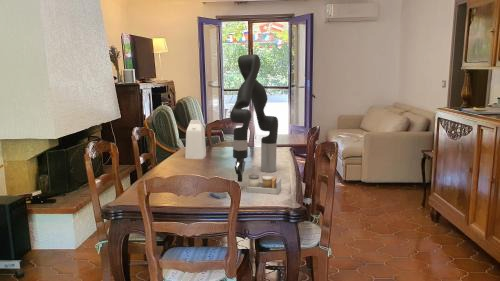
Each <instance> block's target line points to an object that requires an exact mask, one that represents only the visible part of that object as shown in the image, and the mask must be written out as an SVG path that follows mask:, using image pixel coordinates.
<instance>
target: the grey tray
mask: <svg viewBox="0 0 500 281" xmlns="http://www.w3.org/2000/svg"><path fill="white" fill-rule="evenodd" d="M281 189H282V176H279V177H278V179H277V180H276V189H273V188H262V181H259V187H249V186H246V193H255V194H266V193H270V195H279V193H280V191H281Z"/></svg>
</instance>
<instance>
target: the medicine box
mask: <svg viewBox="0 0 500 281" xmlns="http://www.w3.org/2000/svg"><path fill="white" fill-rule="evenodd" d="M209 196H211V197H214V198H216V199H219V200H221V199H225V198H226V197H227V193H210V192H209Z"/></svg>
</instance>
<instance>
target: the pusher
mask: <svg viewBox="0 0 500 281" xmlns="http://www.w3.org/2000/svg"><path fill="white" fill-rule="evenodd" d="M277 178H278V177H277V176H274V177H273V179H272V188H273V189H276V183H277V181H278V179H277Z"/></svg>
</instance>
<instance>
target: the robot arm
mask: <svg viewBox="0 0 500 281" xmlns="http://www.w3.org/2000/svg"><path fill="white" fill-rule="evenodd" d="M237 65H238V69H239V71H240V74H241V75H242V79H243V80H244V82H243V83H242V84H241V85H240V87H239V88H238V90H237V91H238V92H237V96H236V101H235V103H234V105H233V107H232V109H231V111H230V113H229V114H230V115H229V119H230V121H231V122H232V123H235V124H242V126H240V127H235V128H234V129H233V140H232V141H233V142H232V158H234V159H236V161H235V165H234V170H235V174H236V175H237V183H242V182H243V174H244V172H245V166H246V160H245V159H247V158H248V157H249V156H248V154H249V151H248V149H249V143H248V130H249V125H250V122H251V119H252V112H251V110H250V109H246V108H248V107H249V106H250V105H251V103H252V106H253V108H254V111H255V116H256V120H257V124H258V127H259V130H261V131H262V132H268V135H266V136H263V137H262V138H261V140H260V142H261V143H260V144H261V145H260V146H261V147H260V149H261V150H260V151H261V152H260V171H261V172H263V173H264V172H265V173H274V172H277V144H278V141H277V140H278V133H279V132H278V129H279V119H278V117H277V116H274V115H273V116H272V115H266V114H265V111H264V110H265V107H266V105H267V102H268V95H267V91H266V89H265V86H264V85H263V84H262V83H261V82H259V81H258V80H257V77H258V74H259V72H260V68H261V58H260V56H259V55H258V54H255V53H252V54H243V55H239V57H238V58H237Z"/></svg>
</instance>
